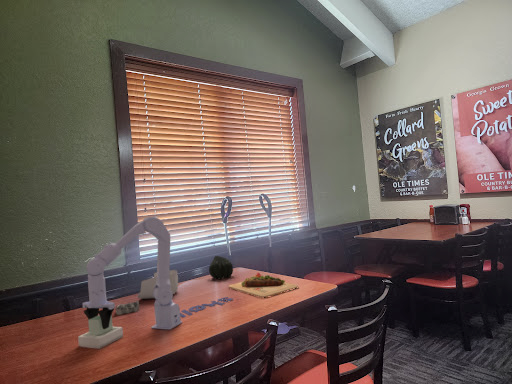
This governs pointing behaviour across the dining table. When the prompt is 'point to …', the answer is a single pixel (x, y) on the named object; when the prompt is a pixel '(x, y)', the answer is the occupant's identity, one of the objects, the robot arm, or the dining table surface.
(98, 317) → the green crate
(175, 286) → the cream block
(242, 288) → the cutting board
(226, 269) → the squash
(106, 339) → the tray
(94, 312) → the robot arm
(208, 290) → the dining table surface
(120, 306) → the egg carton
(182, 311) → the signage
